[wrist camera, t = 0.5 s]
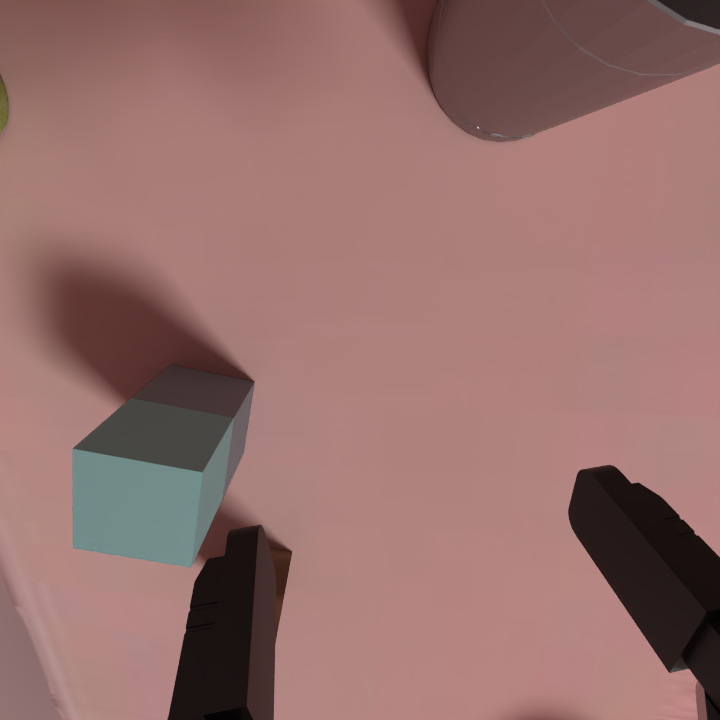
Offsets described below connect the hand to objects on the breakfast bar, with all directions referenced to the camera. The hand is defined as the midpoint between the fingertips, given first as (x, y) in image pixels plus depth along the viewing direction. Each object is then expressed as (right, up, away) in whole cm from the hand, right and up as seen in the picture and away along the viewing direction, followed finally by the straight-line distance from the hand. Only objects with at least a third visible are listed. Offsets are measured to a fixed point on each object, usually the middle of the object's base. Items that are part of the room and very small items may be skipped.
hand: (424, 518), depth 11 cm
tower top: (-13, -2, +15) cm, 20 cm away
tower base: (-13, 0, +21) cm, 24 cm away
